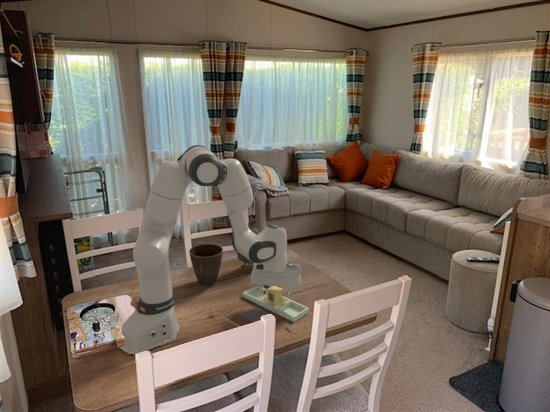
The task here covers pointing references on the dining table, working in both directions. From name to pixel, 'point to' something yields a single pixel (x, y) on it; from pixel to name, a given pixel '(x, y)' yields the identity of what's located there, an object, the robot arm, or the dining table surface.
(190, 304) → the dining table surface
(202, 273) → the plant pot
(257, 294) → the tray left
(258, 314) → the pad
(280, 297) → the letter block
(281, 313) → the tray right
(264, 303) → the tray middle
